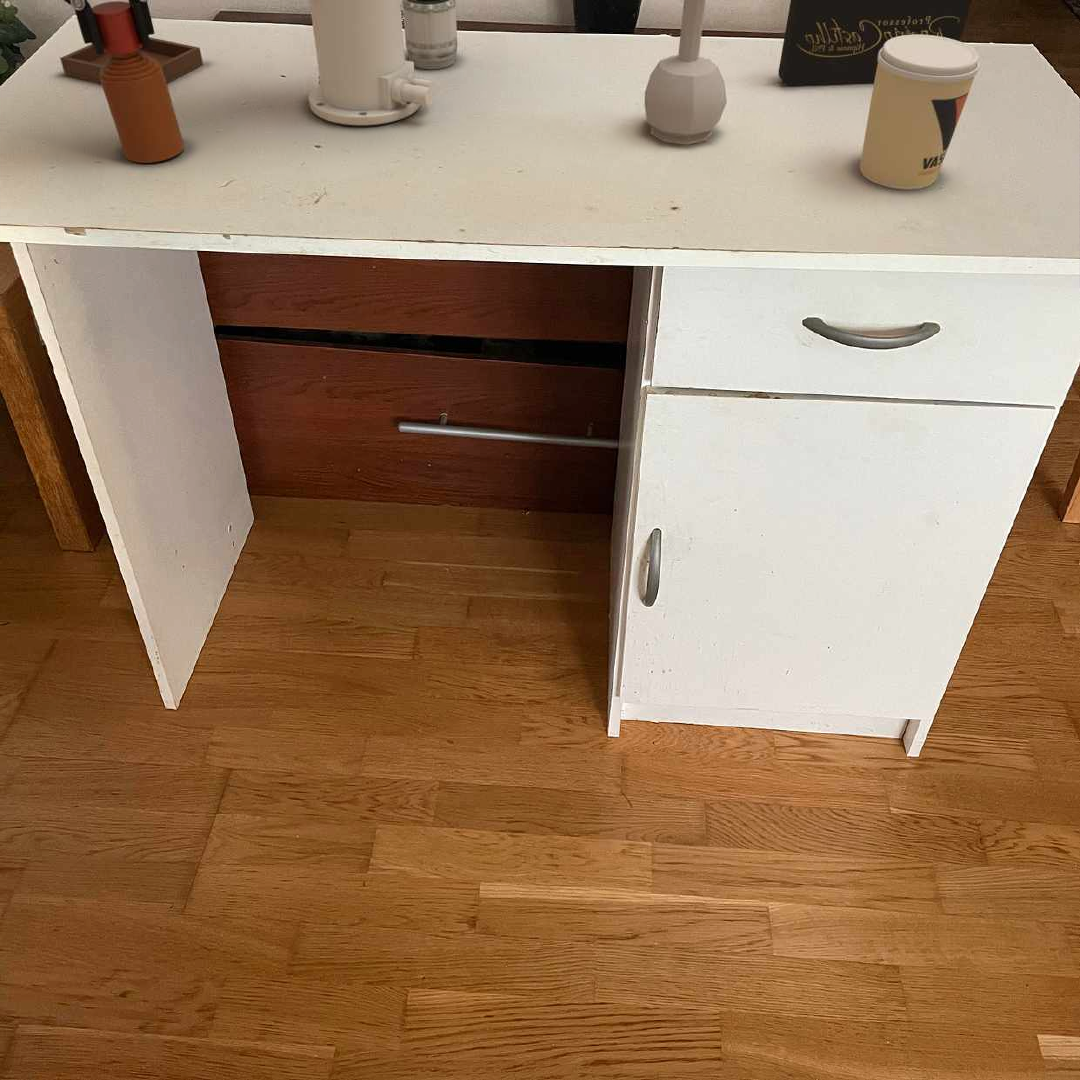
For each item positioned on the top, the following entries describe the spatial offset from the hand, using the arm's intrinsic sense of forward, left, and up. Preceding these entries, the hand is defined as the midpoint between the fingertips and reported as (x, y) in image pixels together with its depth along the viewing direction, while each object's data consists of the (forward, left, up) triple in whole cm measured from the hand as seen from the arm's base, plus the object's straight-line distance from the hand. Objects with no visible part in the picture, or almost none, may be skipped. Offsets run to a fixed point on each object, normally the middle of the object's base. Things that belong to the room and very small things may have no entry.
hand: (121, 44), depth 98 cm
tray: (+17, -17, -11) cm, 26 cm away
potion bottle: (-47, -31, -11) cm, 57 cm away
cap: (0, 0, -1) cm, 1 cm away
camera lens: (-13, -36, -11) cm, 40 cm away
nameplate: (-62, -55, -11) cm, 83 cm away
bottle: (0, -1, -11) cm, 11 cm away
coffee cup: (-71, -31, -11) cm, 78 cm away
